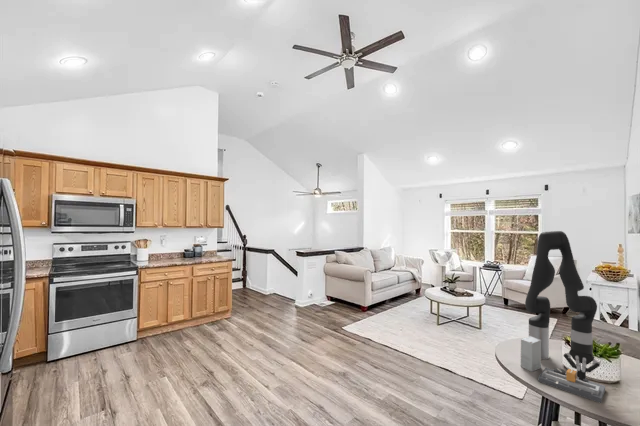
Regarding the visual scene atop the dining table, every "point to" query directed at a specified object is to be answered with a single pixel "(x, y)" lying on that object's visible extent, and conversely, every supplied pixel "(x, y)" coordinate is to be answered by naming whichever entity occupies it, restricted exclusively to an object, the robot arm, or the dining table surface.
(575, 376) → the fader knob
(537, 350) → the skincare box
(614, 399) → the dining table surface
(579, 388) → the console
